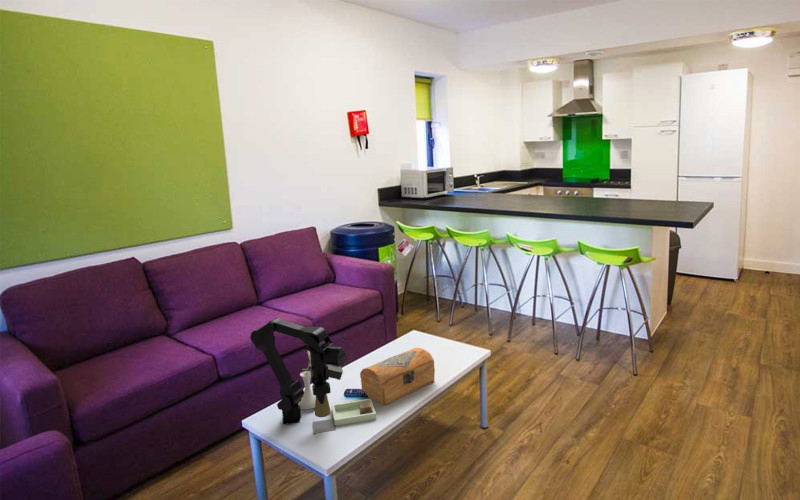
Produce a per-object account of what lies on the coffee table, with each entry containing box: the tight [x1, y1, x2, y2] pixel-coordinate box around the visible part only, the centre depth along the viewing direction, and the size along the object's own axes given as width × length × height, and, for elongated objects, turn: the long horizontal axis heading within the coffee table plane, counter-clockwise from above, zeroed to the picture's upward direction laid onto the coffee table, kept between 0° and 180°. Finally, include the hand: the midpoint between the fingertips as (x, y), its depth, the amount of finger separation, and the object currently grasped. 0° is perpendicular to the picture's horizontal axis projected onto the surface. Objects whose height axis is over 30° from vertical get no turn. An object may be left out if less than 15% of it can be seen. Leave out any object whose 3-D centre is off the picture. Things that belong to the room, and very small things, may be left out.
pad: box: [312, 418, 337, 435], centre depth 191 cm, size 8×8×1 cm
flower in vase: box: [298, 351, 316, 410], centre depth 206 cm, size 13×11×25 cm
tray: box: [331, 398, 377, 427], centre depth 198 cm, size 16×12×3 cm
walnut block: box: [359, 402, 371, 415], centre depth 197 cm, size 4×4×4 cm
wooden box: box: [359, 347, 436, 406], centre depth 217 cm, size 30×16×14 cm, turn 131°
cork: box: [314, 394, 332, 418], centre depth 189 cm, size 6×6×11 cm
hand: (321, 400), depth 189 cm, fingers closed on cork, 5 cm apart
